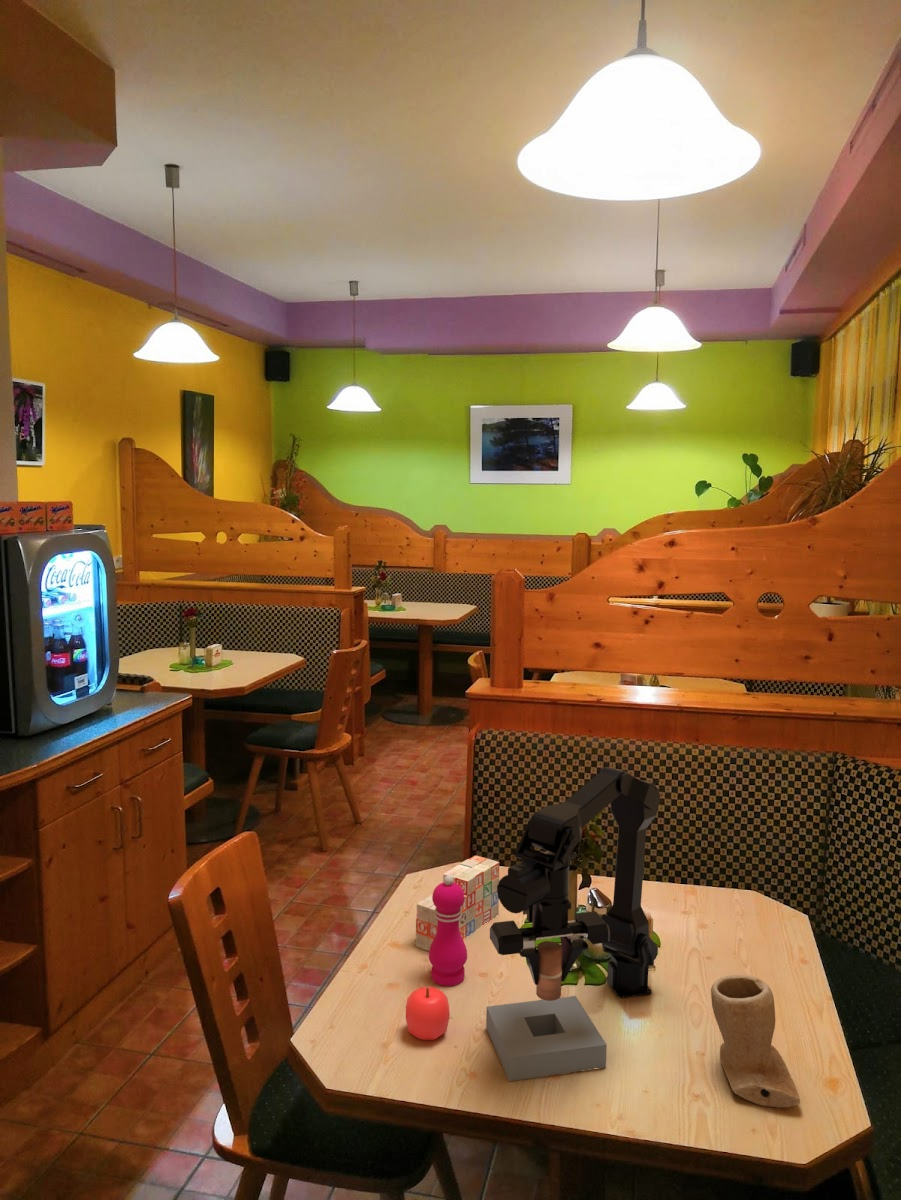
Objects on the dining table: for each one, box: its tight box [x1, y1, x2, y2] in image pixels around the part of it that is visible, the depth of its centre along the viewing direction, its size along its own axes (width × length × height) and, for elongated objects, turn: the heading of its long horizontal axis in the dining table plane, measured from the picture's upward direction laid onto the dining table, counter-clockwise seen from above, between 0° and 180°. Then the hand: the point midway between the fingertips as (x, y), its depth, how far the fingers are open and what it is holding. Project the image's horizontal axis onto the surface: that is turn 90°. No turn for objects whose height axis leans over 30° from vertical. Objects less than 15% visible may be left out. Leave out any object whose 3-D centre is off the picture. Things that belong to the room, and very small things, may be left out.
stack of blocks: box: [415, 855, 500, 952], centre depth 186 cm, size 21×6×12 cm, turn 144°
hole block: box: [485, 995, 608, 1082], centre depth 148 cm, size 16×14×4 cm
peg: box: [535, 940, 562, 1001], centre depth 146 cm, size 4×4×8 cm
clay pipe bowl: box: [710, 974, 801, 1108], centre depth 140 cm, size 15×12×15 cm
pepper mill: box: [428, 876, 468, 987], centre depth 168 cm, size 7×7×20 cm
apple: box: [405, 986, 450, 1041], centre depth 152 cm, size 8×8×8 cm
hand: (548, 981), depth 146 cm, fingers closed on peg, 4 cm apart
